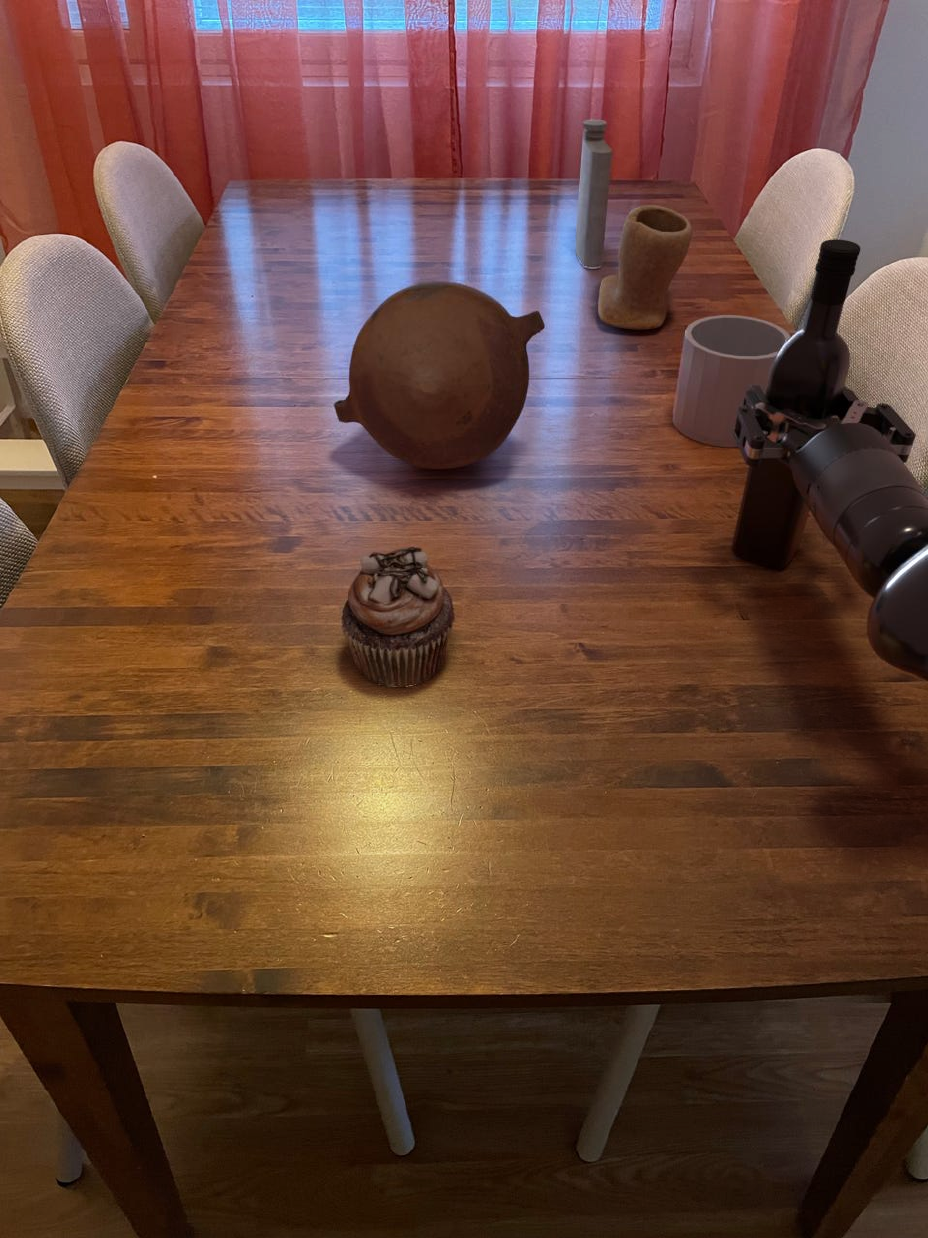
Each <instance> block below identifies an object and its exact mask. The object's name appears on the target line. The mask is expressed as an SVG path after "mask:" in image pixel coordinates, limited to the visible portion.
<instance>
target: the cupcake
mask: <svg viewBox="0 0 928 1238" xmlns="http://www.w3.org/2000/svg"><path fill="white" fill-rule="evenodd" d="M361 557H362V558H361V559H360V567H361V570H360V571H359V573H358V574H357V575H356V576H355V578H354V579H353V581H352V582H351V584H350V586H349V589H348V592H347V599H346V601H345V603H344V605H343V608H342V611H341V613H342V616H341V617H340V619H341V622H340V623H341V631H342V632H343V635H344V637H345V640H346V642H347V645H348V648H349V650H350V653H351V656H352V659H353V661H354V663H355V665H356V667H357V670H358V672H359V673H360V674H361V676H363V677H364V678H365V679H366V678H367V679H366V680H367V681H369V680H370V681H369V682H371V681H373V682H375V683H377V684H376V685H378V684H380V685H385V686H388V687H387V688H390V687H389V686H397V687H406V686H409V685H415V684H418V685H420V684H421V683H422V682H421V681H425V680H427V679H429V678H431V679H432V678H433V676H434V677H435V675H436V674H437V673H439V672H440V671H441V669H442V666H443V664H444V663H445V661H446V660H445V658H446V652H447V646H448V642H449V638H450V635H451V631H452V628H453V626H454V622H455V620H456V619H455V618H456V613H455V608H454V605H453V604H454V603H453V598H452V596H451V594H450V592H449V591H448V590H447V589H446V587H444V584H443V581H442V578H441V577H440V575H439V573H438V572H437V571H436V570H435V569H433V567H431V565H429V564H428V563H429V556H428V553H426V552H424V551H422V547H414V546H410V547H404V548H399V549H395V550H393V551H391V552H387V553H382V552H376V551H373V552H372V553H371V554H368V555H363V556H361ZM429 680H430V679H429ZM427 681H428V680H427ZM373 682H372V683H373ZM420 682H421V683H420ZM425 682H426V681H425ZM375 683H374V684H375ZM419 683H420V684H419ZM380 685H379V686H380ZM385 686H384V687H385ZM415 686H416V685H415ZM397 687H396V688H397ZM406 688H407V687H406Z"/></svg>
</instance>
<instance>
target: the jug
mask: <svg viewBox="0 0 928 1238" xmlns="http://www.w3.org/2000/svg"><path fill="white" fill-rule="evenodd" d="M545 327H546V325H545V322H544V319H543V317H542V315H541V313H540V311H539V310H535V311H532V312H530V313H527V314H524V315H520V316H513V315H511V314H510V313H509V311H508V310H507V308H505V307H504V306H503V305H502V304H501V303H500V302H499V301H498V300H496V299H495V298H494V297H493V296H491V295H489V294H487V293H486V292H484V291H481V290H479V289H478V288H475V287H473V286H470V285H466V284H463V283H460V282H455V281H445V280H444V281H443V280H433V281H425V282H419V283H416V284H413V285H409V286H407V287H404V288H403V289H402V288H401V289H400V290H398V291H396V292H394V293H393V294H391V295H390V296H389V297H387V298H386V299H385V300H383V301H382V302H381V303H380V304H379V305H378V306H377V308H376V309H375V310H374V311H373V312H372V313H371V315H370V316H369V317H368V318H367V319H366V321H365V322H364V323H363V325H362V327H361V328H360V330H359V332H358V334H357V336H356V338H355V341H354V344H353V347H352V350H351V355H350V361H349V367H348V387H349V390H348V394H347V396H346V398H344V399H338V400H337V401H335V402H334V403H333V408H334V411H335V415H336V416H337V420H338V422H340V423H344V424H349V423H357V424H360V425H361V426H362V427H363V428H364V429H365V430H366V432H367V433H368V434H369V435H370V436H371V438H373V440H374V441H375V442H376V444H378V445H379V446H380V448H382V449H383V450H384V451H385V452H387V453H388V454H390V455H391V456H392V457H394V458H396V459H398V460H400V461H401V462H404V463H406V464H409V465H412V466H414V467H418V468H422V469H429V470H448V469H449V470H450V469H457V468H461V467H466V466H469V465H471V464H474V463H477V462H479V461H481V460H483V459H485V458H486V457H489V456H490V455H491V454H493V453H494V452H495V451H497V450H498V449H499V447H500V446H501V445H503V443H504V442H505V440H507V438H508V437H509V436H510V433H511V432H512V431H513V429H514V428H515V426H516V424H517V422H518V420H519V418H520V417H521V414H522V412H523V409H524V407H525V403H526V400H527V396H528V390H529V384H530V363H529V355H528V351H527V350H528V349H527V345H528V343H529V342H530V340H532V338H533V337H534V336H536V335H537V334H539V333H541V332H542V331H543V330H544V329H545Z"/></svg>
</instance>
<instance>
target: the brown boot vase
mask: <svg viewBox="0 0 928 1238" xmlns="http://www.w3.org/2000/svg"><path fill="white" fill-rule="evenodd" d="M692 236H693V226H692V223H691V222H690V221H689V219H688V218H687V217H685V216H684V215H683V214H681V213H678V212H677V211H676V210H674V209H670V208H667V207H666V206H665V207H664V206H661V205H656V204H655V205H653V204H646V205H645V204H644V205H640V206H637V207H635V208H632V210H631V211H630V212H629V213H628V215H627V216H626V218H625V220H624V224H623V227H622V231H621V237H620V241H619V247H618V251H617V252H618V254H617V255H618V273H614V274H609V275H608V276H604V277H603V278H602V280H601V282H600V287H599V291H598V292H599V293H598V300H597V301H598V302H597V305H598V306H597V313H598V316H599V318H600V320H601V321H602V322H603V323H604V324H606V325H608V326H611V327H615V328H620V329H625V330H639V331H640V330H641V331H643V330H644V331H645V330H654V329H657V328H660V327H661V326H662V325H663V324H664V322H665V320H666V318H667V313H668V305H667V301H666V299H667V298H666V293H667V292H668V289H669V287H670V284H671V283H672V281H673V279H674V277H675V276H676V274H677V273H678V271H679V269H680V268H681V266H682V265H683V262H684V260H685V259H686V257H687V254H688V251H689V249H690V245H691V241H692Z"/></svg>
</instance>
